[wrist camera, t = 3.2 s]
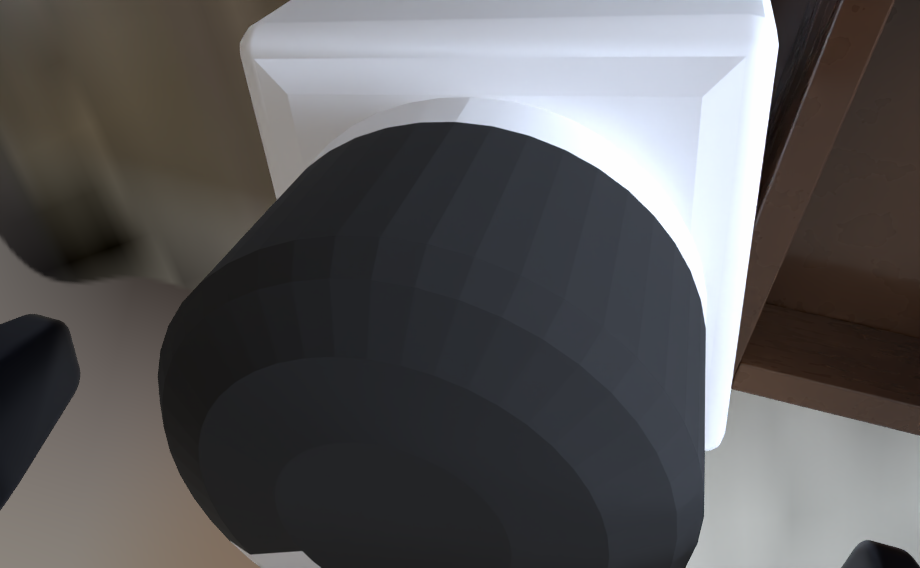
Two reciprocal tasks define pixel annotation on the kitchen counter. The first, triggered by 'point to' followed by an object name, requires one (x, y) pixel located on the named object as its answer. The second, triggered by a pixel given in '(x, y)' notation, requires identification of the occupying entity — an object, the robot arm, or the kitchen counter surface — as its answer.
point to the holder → (839, 217)
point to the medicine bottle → (479, 284)
